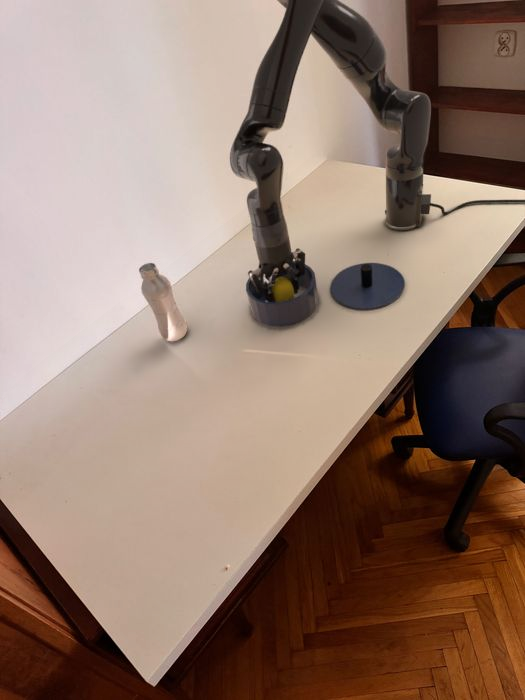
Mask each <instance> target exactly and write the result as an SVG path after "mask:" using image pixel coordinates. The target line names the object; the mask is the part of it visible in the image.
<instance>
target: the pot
mask: <svg viewBox="0 0 525 700" xmlns="http://www.w3.org/2000/svg"><path fill="white" fill-rule="evenodd" d="M290 267H291V269H292V270H293V271H295V260H293V261H292V264H291V266H290ZM263 277H264V274H263V273H261V274H260V278H261V279H260V280H259V281H260V283H261V285H262V286H263V283H264V279H263ZM280 277H285V278H287V279H289V278H290V276H289V275H288V274H285V275H282V276H280ZM298 284H299V287H301V286H302V287H304V288H306V290H305V291H304V292H302V293H300V294H299V295H298V296H295V297H293V299H290V300H288V301H282V302H268V301H267V300H266V296H265V294H263V295H260V294H259V292H258V291H257V290H256V289H255V287H254V285H253V283H252V281H251V279H250V277H249V276H248V279H247V281H246V284H245V291H246V297H247V300H248V303H249V306H250V310H251V314H252V316H253V318H254V319H255V320H256V321H258V322H259V323H260V324H262V325H266V326H269V327H277V328H282V327H289V326H293V325H296V324H299V323H302V322H304V321H305V320H307V319H308V318H309V317H311V316H312V315H313V314H314V313H315V311H316V310H317V308H318V305H319V302H320V301H319V295H318V288H317V279H316V274H315V271H314V270H313V268H312V267H311V266H309V265H308V264H306V263H305V274H304V275H303V276H300V277H299V278H298Z"/></svg>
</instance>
